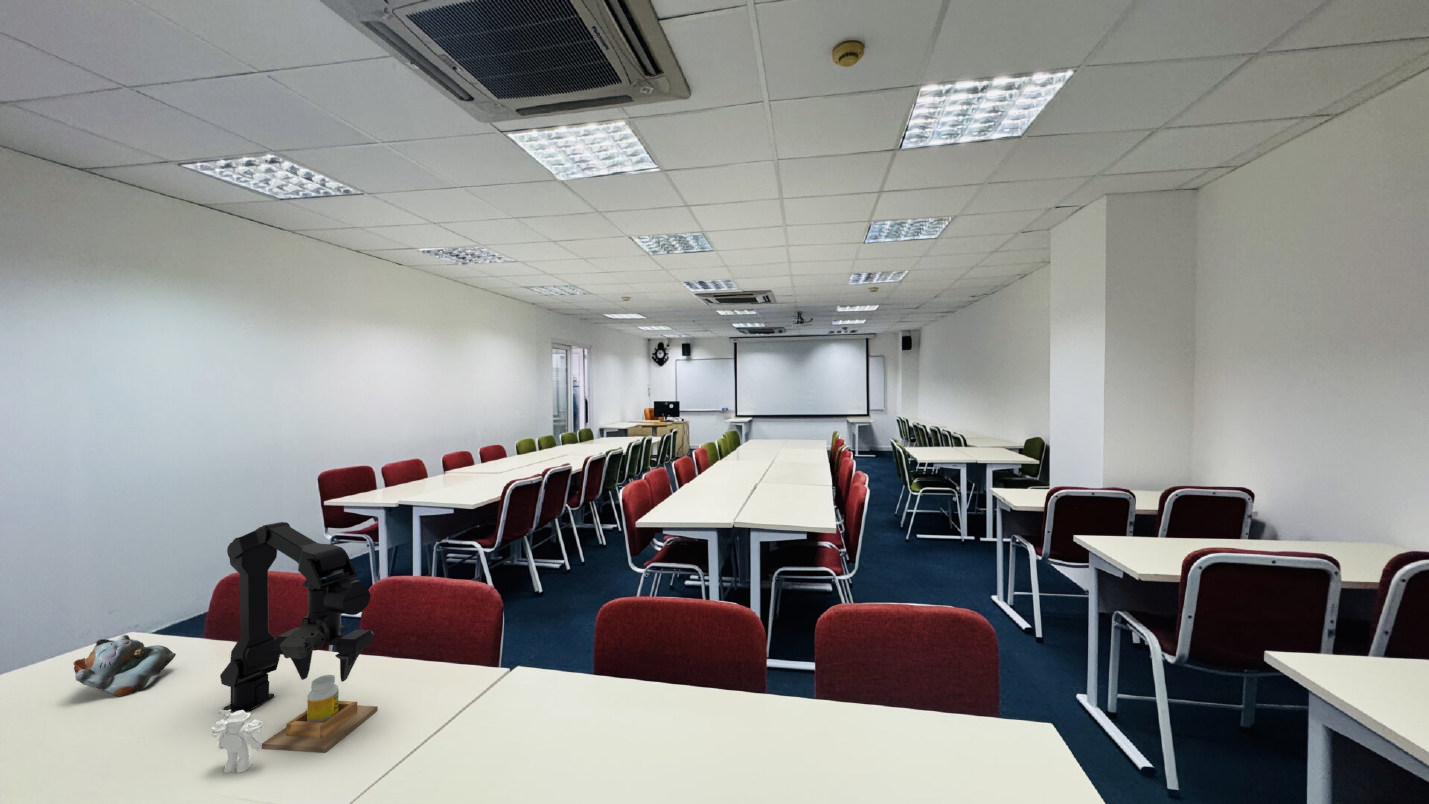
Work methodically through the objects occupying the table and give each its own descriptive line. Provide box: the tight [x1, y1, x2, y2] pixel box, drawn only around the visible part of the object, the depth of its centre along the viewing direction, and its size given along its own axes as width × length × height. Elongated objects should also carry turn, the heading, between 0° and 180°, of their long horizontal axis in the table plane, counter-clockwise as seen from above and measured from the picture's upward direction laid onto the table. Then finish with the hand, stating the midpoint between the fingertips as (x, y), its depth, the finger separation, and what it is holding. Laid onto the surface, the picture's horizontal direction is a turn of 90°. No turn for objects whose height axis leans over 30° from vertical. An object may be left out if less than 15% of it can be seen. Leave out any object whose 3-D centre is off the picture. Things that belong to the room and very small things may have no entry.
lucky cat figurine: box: [72, 634, 177, 697], centre depth 124 cm, size 15×12×14 cm
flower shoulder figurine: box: [210, 708, 265, 774], centre depth 97 cm, size 9×4×12 cm, turn 89°
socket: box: [261, 700, 379, 754], centre depth 109 cm, size 14×14×4 cm
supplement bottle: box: [306, 674, 340, 723], centre depth 109 cm, size 5×5×10 cm
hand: (324, 679), depth 109 cm, fingers open, 9 cm apart
